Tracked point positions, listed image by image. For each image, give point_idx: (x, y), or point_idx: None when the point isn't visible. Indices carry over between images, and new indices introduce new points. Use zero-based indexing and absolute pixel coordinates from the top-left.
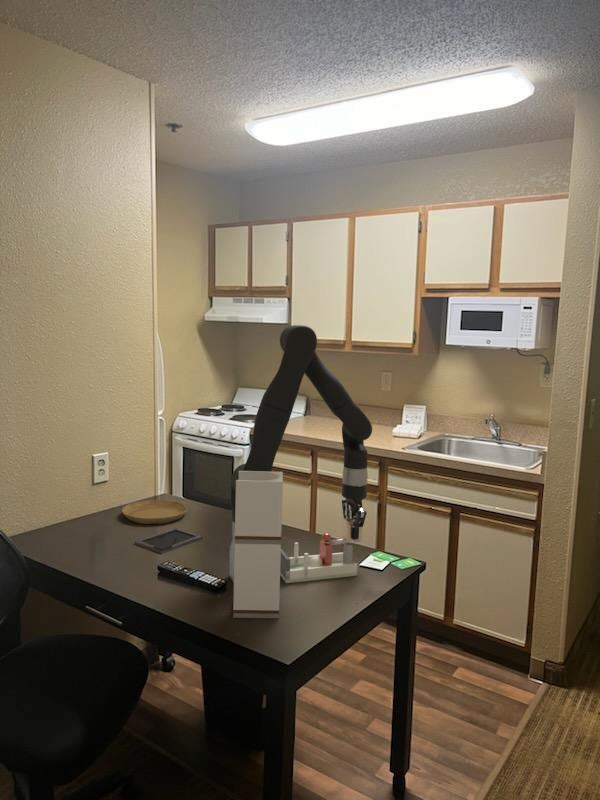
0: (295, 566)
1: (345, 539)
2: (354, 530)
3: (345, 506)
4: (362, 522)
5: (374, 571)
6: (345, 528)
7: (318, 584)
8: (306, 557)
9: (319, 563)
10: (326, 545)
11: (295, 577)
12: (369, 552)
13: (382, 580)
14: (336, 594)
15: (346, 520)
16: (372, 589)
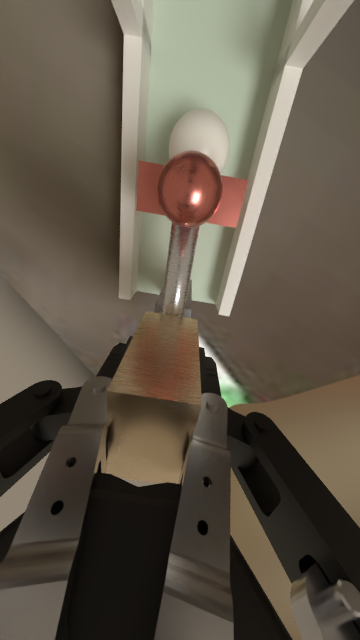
0: (269, 70)
1: (162, 313)
2: (98, 372)
3: (226, 594)
4: (2, 451)
5: None
6: (159, 347)
7: (96, 109)
8: None
9: (169, 152)
10: (145, 169)
11: None
12: (249, 391)
13: (84, 327)
14: (4, 135)
15: (134, 393)
16: (33, 273)
